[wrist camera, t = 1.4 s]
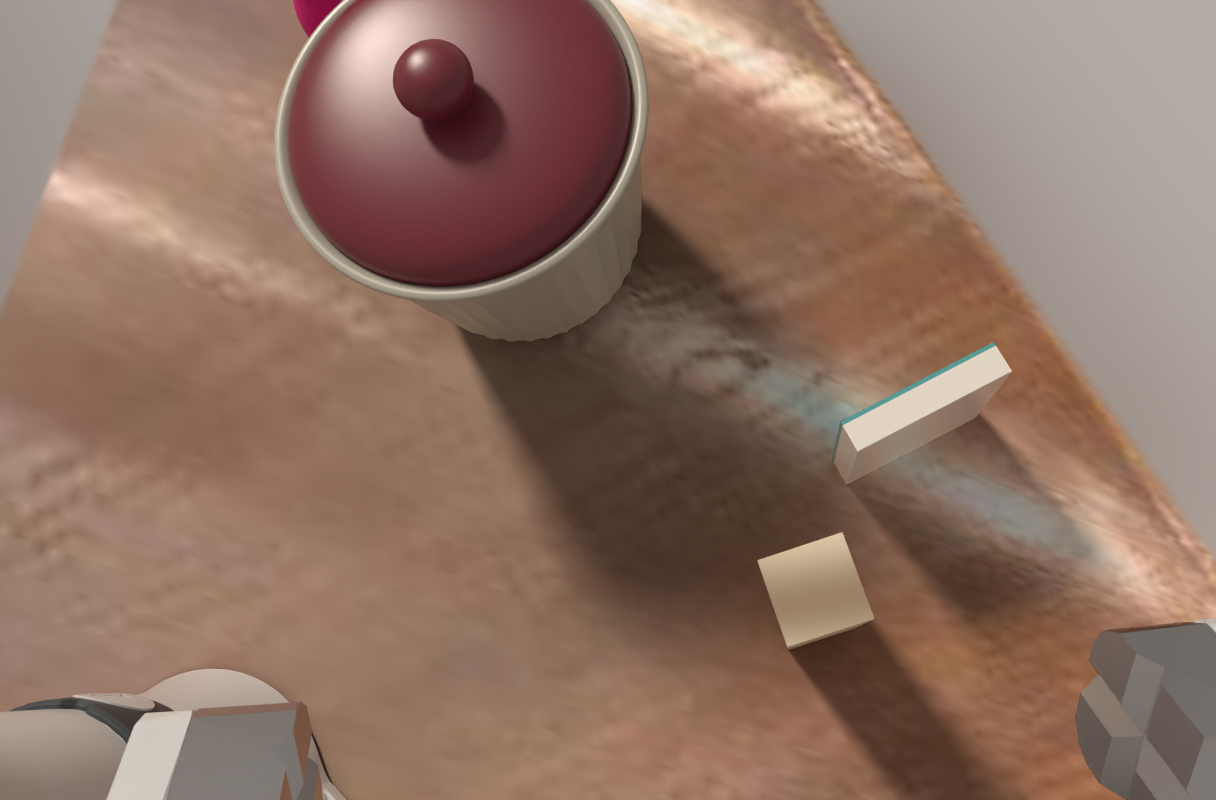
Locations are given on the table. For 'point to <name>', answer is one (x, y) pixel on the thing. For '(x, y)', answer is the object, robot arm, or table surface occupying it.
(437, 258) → the canister
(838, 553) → the block
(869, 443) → the tile
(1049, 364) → the table surface
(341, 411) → the table surface
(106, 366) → the table surface
